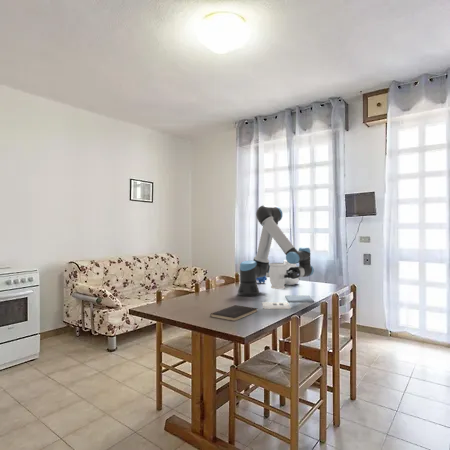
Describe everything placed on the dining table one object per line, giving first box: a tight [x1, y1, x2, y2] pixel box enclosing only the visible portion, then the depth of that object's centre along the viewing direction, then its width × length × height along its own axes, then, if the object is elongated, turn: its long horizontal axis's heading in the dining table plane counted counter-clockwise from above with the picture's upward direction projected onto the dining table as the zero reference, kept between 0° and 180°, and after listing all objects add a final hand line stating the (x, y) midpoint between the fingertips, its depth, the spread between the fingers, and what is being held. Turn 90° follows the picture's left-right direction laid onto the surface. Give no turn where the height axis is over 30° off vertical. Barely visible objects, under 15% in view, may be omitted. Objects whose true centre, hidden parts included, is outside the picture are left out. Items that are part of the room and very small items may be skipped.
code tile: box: [261, 301, 292, 310], centre depth 203 cm, size 16×16×1 cm
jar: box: [268, 262, 287, 290], centre depth 205 cm, size 11×10×15 cm
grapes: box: [256, 276, 268, 284], centre depth 285 cm, size 12×7×12 cm, turn 66°
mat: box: [284, 294, 315, 303], centre depth 219 cm, size 16×16×1 cm
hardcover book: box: [210, 304, 259, 321], centre depth 185 cm, size 16×23×2 cm
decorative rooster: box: [282, 259, 300, 286], centre depth 276 cm, size 25×16×25 cm, turn 138°
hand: (273, 276), depth 202 cm, fingers closed on jar, 10 cm apart
